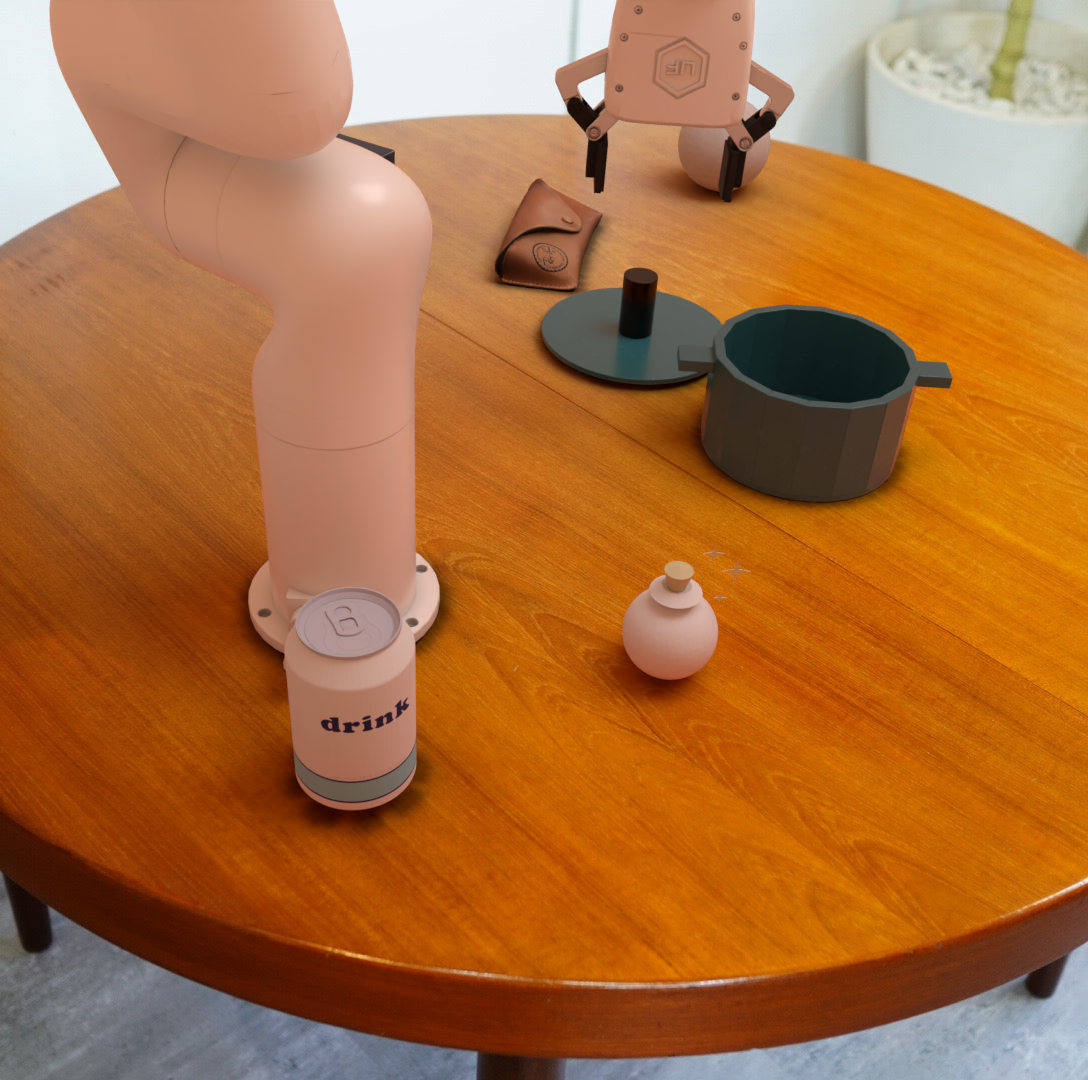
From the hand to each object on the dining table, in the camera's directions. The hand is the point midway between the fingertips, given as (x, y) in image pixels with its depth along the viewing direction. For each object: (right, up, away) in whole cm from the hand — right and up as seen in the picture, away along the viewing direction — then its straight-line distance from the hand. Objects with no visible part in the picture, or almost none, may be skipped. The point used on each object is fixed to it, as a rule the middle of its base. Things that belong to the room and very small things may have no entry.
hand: (661, 191), depth 100 cm
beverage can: (-20, -40, -23) cm, 51 cm away
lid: (-1, -8, +18) cm, 20 cm away
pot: (+12, -19, +7) cm, 23 cm away
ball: (+10, +13, +47) cm, 50 cm away
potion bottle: (0, -35, -15) cm, 38 cm away
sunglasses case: (-8, +3, +33) cm, 34 cm away
